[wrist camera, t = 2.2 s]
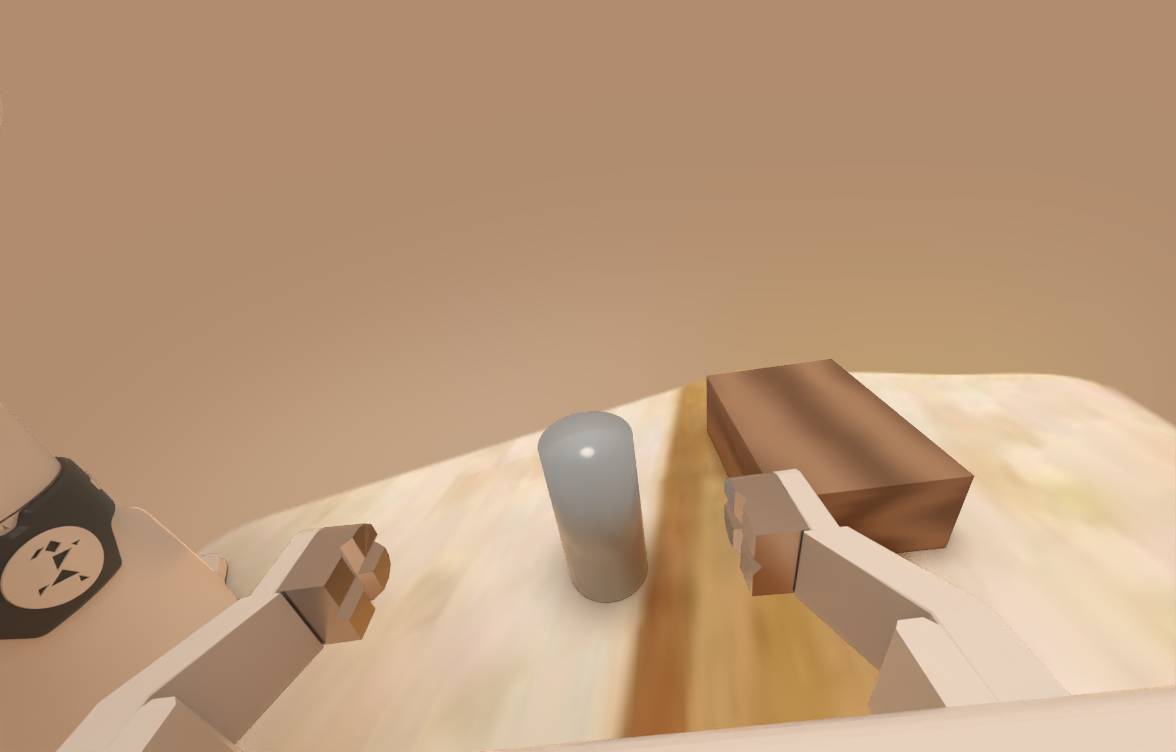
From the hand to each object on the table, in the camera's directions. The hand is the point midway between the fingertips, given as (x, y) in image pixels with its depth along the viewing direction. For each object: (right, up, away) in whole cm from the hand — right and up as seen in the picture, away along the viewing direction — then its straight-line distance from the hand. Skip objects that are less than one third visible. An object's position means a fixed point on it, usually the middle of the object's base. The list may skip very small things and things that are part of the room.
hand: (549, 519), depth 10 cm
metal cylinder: (+2, -10, +19) cm, 22 cm away
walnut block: (+18, -5, +24) cm, 30 cm away
